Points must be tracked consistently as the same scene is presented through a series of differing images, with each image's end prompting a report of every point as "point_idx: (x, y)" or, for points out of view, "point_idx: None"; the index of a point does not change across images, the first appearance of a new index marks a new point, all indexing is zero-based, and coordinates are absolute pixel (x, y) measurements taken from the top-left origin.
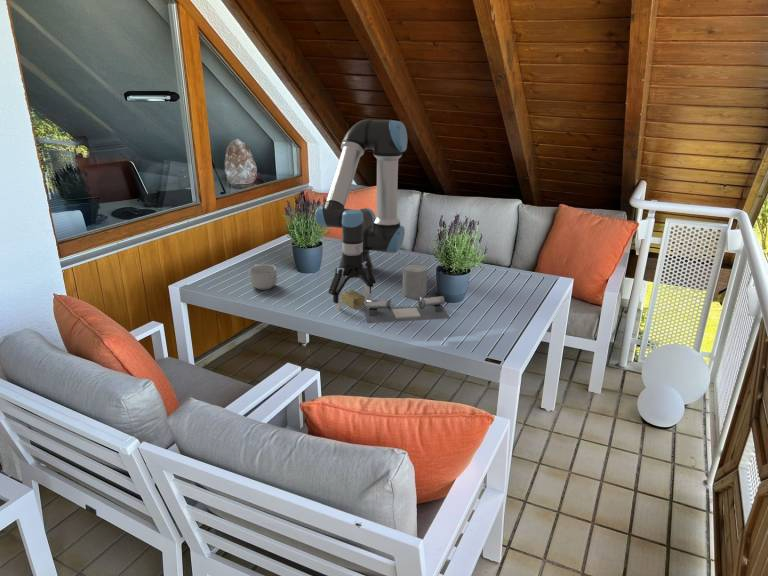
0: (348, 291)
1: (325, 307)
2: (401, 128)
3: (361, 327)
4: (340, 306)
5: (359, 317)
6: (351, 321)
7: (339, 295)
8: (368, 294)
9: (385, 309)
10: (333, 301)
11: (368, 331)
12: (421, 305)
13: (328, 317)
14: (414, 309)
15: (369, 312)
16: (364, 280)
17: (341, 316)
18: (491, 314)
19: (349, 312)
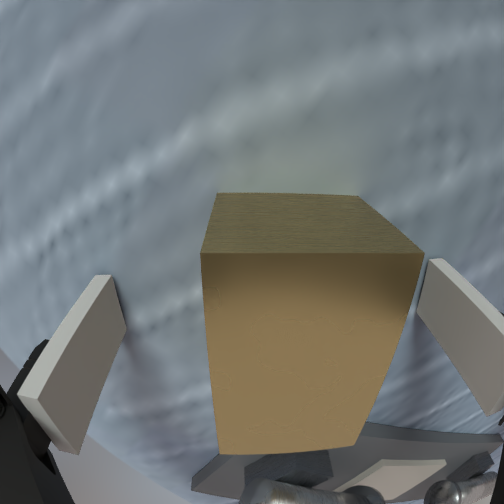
0: (334, 274)
1: (50, 172)
2: None
3: (161, 472)
4: (109, 361)
5: (207, 429)
6: (142, 433)
7: (64, 451)
8: (453, 362)
9: (372, 448)
10: (37, 347)
11: (172, 489)
12: (431, 501)
13: (31, 336)
14: (429, 473)
15: (247, 483)
16: (502, 487)
17: (108, 373)
18: (495, 467)
19: (186, 362)
